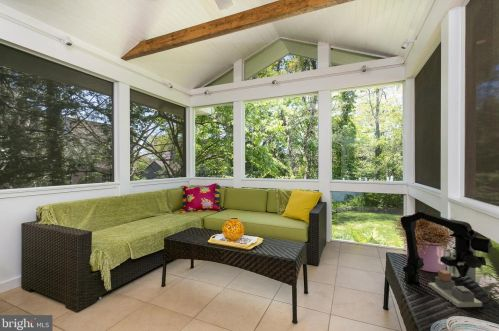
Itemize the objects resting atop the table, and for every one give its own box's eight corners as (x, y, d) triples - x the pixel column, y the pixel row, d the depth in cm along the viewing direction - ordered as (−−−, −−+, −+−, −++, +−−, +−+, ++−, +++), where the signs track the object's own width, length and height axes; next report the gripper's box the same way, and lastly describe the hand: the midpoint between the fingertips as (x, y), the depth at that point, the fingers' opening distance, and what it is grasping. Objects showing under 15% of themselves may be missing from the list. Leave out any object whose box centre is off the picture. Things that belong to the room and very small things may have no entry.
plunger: (462, 300, 118) (462, 290, 117) (455, 295, 122) (455, 286, 121) (470, 300, 118) (470, 290, 117) (462, 295, 122) (462, 286, 121)
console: (457, 307, 116) (457, 295, 115) (428, 286, 135) (428, 275, 134) (482, 306, 116) (482, 294, 115) (449, 285, 135) (449, 275, 134)
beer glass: (463, 278, 142) (463, 254, 142) (449, 277, 143) (449, 253, 143) (455, 272, 149) (455, 249, 148) (442, 272, 150) (442, 249, 150)
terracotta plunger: (444, 282, 128) (444, 273, 128) (438, 278, 132) (438, 270, 132) (451, 282, 128) (451, 273, 128) (445, 278, 132) (445, 269, 132)
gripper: (458, 254, 111) (458, 286, 111) (497, 252, 111) (497, 285, 111) (439, 245, 122) (439, 274, 122) (475, 244, 122) (475, 273, 122)
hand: (462, 277), depth 119 cm, fingers closed
